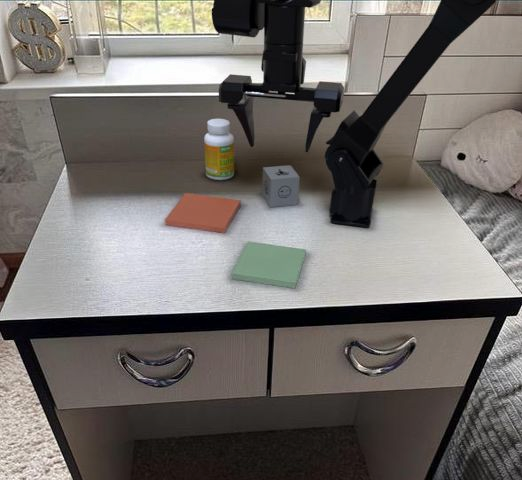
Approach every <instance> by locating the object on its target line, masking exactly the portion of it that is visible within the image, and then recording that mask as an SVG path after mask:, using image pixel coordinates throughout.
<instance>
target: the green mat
mask: <svg viewBox="0 0 522 480" xmlns="http://www.w3.org/2000/svg"><path fill="white" fill-rule="evenodd" d="M306 256H307V249H305V248H299V247H291V246H283V245H277V244H270V243H263V242H256V241H249V240H247V242H246V244H245V246H244V249H243V250H242V253H240V256H239V258H238V260H237V262H236V264H235V267H234V268H233V270H232V273H231V280H232V279H233V280H237V281H238V280H239V281H243V282H244V281H245V282H250V283H257V284H264V285H271V286H275V287H276V286H277V287H282V288H283V287H284V288H290V289H296V287H297V284H298V282H299V281H298V280H299V278H300V274H301V271H302V268H303V265H304V262H305V259H306Z"/></svg>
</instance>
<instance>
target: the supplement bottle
mask: <svg viewBox="0 0 522 480" xmlns="http://www.w3.org/2000/svg"><path fill="white" fill-rule="evenodd" d="M206 125H207V126H206V127H207V131H208V132H207V133H206V134H205V135H204V139H203V140H204V141H203V143H204V144H203V145H204V160H205V161H204V163H205V175H206V177H207V178H209V179H210V180H214V181H227V180H230V179H232V178H233V177H234V175H235V138H234V135H233V134H232V133H231V132H230V130H231V122H230V121H229V120H227V119H225V118H211V119H209V120H208V121H207V124H206Z"/></svg>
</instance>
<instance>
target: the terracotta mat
mask: <svg viewBox="0 0 522 480" xmlns="http://www.w3.org/2000/svg"><path fill="white" fill-rule="evenodd" d="M241 206H242V200H241V199H234V198H226V197H220V196H213V195H211V196H210V195H204V194H195V193H189V192H188V193H187V192H185V193H184V194H183V195H182V197H181V198H180V199H179V200H178V202H177V203H176V205H175V206H174V207H173V208H172V210H170V212H169V213H168V215H167V216H166V217H165V219H164V224H165V226H171V227H178V228H185V229H192V230H193V229H194V230H200V231H207V232H213V233H222V234H226V232H227V231H228V229H229V227H230V226H231V223H232V221H233V220H234V218H235V216H236V215H237V213H238V211H239V209H240V208H241Z"/></svg>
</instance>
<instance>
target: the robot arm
mask: <svg viewBox="0 0 522 480" xmlns="http://www.w3.org/2000/svg"><path fill="white" fill-rule="evenodd" d="M321 1H322V0H213V4H212V7H211V21H212V25H213V28H214V30H215V32H216V33H218V34H220V35H221V34H222V35H229V36H238V37H246V38H256V37H257V36H258V34H259V33H260V31H262V30H263V51H262V57H261V64H260V65H261V66H260V68H261V72H263V73H262V76H263V77H262V79H263V81H262V83H254V82H253V79H252V77H251V75H246V74H245V75H244V74H231V73H230V74H228V76H227V77H225V78H224V80H223V81H221V83H220V84H219V86H218V102H219V103H222V104H226V105H227V109H229V110H232V111H233V113H234V114H235V116H236V118H237V119H238V121H239V123H240V125H241V128H242V129H243V132H244V134H245V137H246V140H247V142H248V145H249V146H250V148H254V146H255V139H256V138H255V137H256V136H255V125H254V124H255V123H254V110H253V109H254V98H262V99H272V100H273V99H274V100H283V101H285V100H287V101H297V102H309V103H313V107H312V109H311V112H310V115H309V122H308V126H307V127H308V129H307V132H306V133H307V134H306V140H305V151H304V152H305V153H309V151H310V148H311V145H312V143H313V140H314V139H315V135H316V134H317V133H316V132H317V130H318V128H319V126H320V125H321V122H322V121H323V119H324V118H327V119H328V118H330V117H331V116H332V114H333V113H340V111H341V109H342V106H343V103H344V95H345V86H344V85H343V83H342V82H333V81H323V80H322V81H318V84H317V85H316V87H307V86H306V87H305V86H301V85H304V84H305V77H306V68H307V67H306V66H307V60H306V59H305V58H304V55H303V53H304V36H305V35H304V33H305V19H306V17H305V16H306V8H313V7H316V6H318V5H320V4H321ZM497 1H498V0H440V2H439V4H438V5H437V7H436V10H435V12H434V14H433V16H432V18H431V19H430V23H429V25H427V27H426V29H425V30H424V32H422V34H421V35H420V37H419V38H418V39H417V41H416V42H415V43H414V45H413V46H412V47H411V49H410V50H409V51H408V53H407V54H406V55H405V57H404V58H403V59H402V61H401V62H400V63H399V65H398V66H397V67H396V69H394V72H393V73H392V74H391V75H390V77H389V78H388V80H387V81H386V82H385V83H384V85H382V87H381V89H380V90H379V91H378V93H377V94H376V95H375V97H374V98H373V100H372V101H371V102H370V103H369V105H368V106H367V108H366V109H365V110H364V111H363V113H361V115H359V114H358V113H357V112H356V110H355V109H353V110H352V111H351V112H350V113H349V114H348V115H347V116H346V117H345V118H344V119H343V120H342V121H340V123H339V125H338V127H337V129H336V131H335V133H334V134H333V135H332V136H331V137H330V138H329V139H327V140H326V142H325V144H326V145H328V147H327V148H326V150H325V152H324V159H325V160H324V161H325V164H326V167H327V169H328V170H329V171H330V172H331V176H332V181H333V186H332V190H331V195H330V204H329V211H328V213H329V215H331V216H330V223H331V224H336V225H337V224H339V225H344V226H345V225H347V226H352V227H361V228H370V227H371V222H372V216H373V210H374V209H373V207H374V201H375V196H376V191H377V190H376V189H377V184H378V179H375V178H376V177H377V176H378V175H379V173H380V172H381V170H382V168H383V167H384V162H383V161H382V160H381V158H380V157H379V155H378V154H377V152H376V150H374V149H375V147H376V145H377V144H378V141H379V140H380V138H381V136H382V133H383V131H384V130H385V127H386V126H387V125H388V122H389V121H390V120H391V119H392V118H393V116H394V115H395V114H396V113H397V111H398V110H399V109H400V107H402V105H403V104H404V102H405V101H406V100H407V99H408V98H409V97H410V95H411V94H412V93H413V92H414V91H415V89H416V87H418V85H419V84H420V82H422V80H423V79H424V78H425V76H426V75H427V74H428V73H429V71H430V70H431V69H432V68H433V67H434V65H435V64H436V63H437V61H438V60H439V59H440V58H441V56H443V54H444V53H445V51H446V50H447V49H448V48H449V47H450V45H451V44H452V43H453V42H454V41H456V39H458V37H460V36H461V35H463V33H464V32H465V31H467V30H468V29H469V28H470V27H471V26H472V25H473V24H474V23H476V21H477V20H479V18H481V17H482V16H483V15H484V14H485V13H486V12H487V11H488V10H489V9H490V8H491V7H493V6H494V4H495V3H496V2H497Z"/></svg>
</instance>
